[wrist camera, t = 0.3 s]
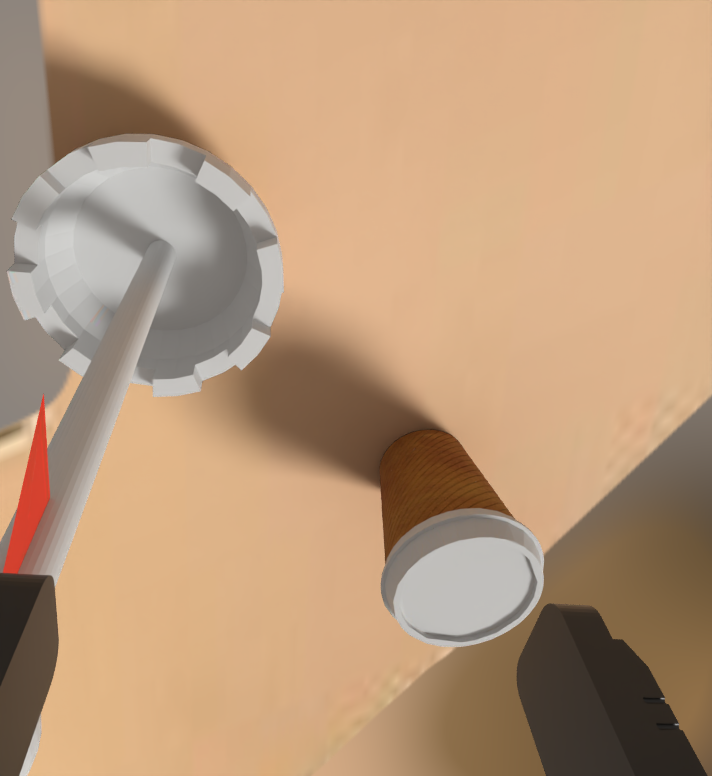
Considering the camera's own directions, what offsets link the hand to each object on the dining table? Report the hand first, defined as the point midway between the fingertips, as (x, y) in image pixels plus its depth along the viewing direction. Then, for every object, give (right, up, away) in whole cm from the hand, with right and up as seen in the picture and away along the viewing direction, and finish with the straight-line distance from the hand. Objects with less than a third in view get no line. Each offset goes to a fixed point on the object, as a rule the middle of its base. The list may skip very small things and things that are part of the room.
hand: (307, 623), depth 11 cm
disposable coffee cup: (+6, -2, +35) cm, 36 cm away
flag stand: (-10, +12, +26) cm, 30 cm away
